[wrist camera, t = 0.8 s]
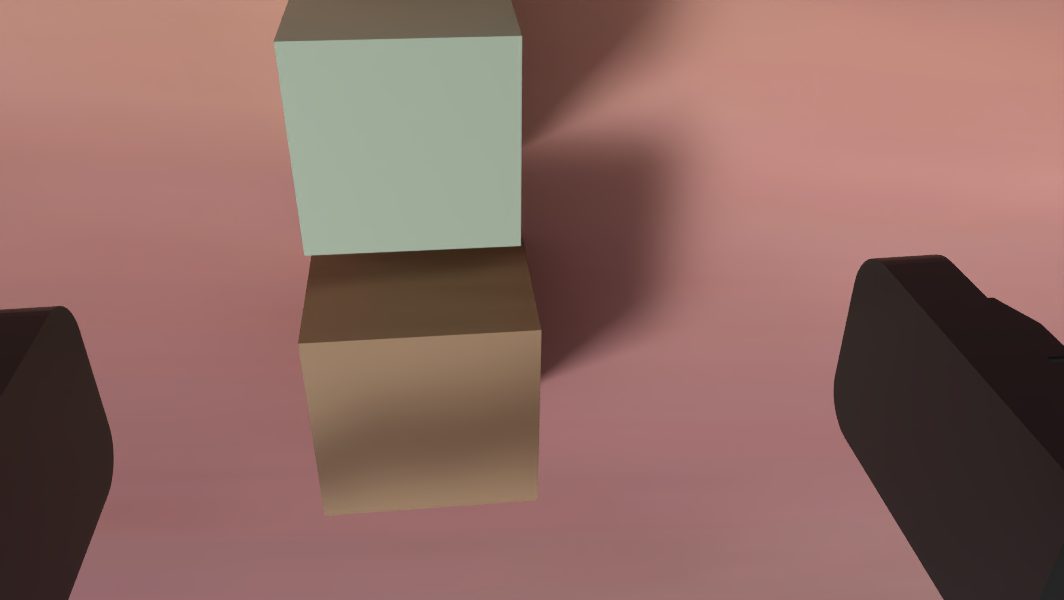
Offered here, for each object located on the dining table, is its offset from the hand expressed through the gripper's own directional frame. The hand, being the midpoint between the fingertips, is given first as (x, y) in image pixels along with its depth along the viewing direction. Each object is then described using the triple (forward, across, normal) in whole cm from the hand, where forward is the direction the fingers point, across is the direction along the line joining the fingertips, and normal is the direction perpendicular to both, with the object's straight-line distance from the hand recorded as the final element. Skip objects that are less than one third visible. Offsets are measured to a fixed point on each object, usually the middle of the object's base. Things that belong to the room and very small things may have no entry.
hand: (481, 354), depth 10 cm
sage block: (+16, +1, +2) cm, 16 cm away
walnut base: (+16, +1, +10) cm, 19 cm away
